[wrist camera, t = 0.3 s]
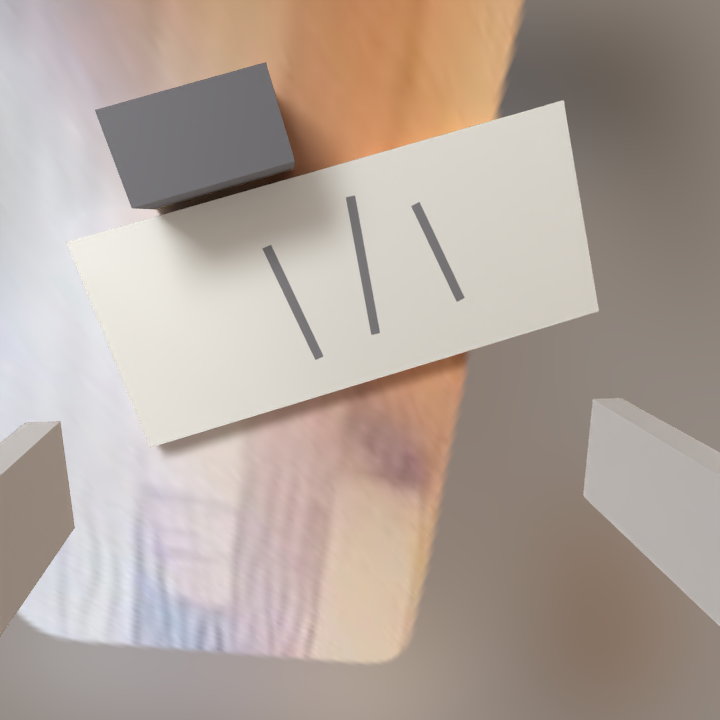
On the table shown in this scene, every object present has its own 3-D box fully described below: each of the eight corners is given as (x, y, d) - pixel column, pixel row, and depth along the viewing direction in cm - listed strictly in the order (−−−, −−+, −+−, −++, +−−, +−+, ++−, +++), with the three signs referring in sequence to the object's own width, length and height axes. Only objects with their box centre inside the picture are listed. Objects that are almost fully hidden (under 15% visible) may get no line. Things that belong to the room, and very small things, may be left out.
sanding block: (126, 127, 35) (95, 110, 29) (269, 87, 36) (265, 62, 30) (156, 209, 37) (131, 208, 31) (294, 169, 37) (295, 161, 31)
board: (73, 241, 36) (65, 242, 35) (555, 103, 38) (563, 100, 37) (154, 441, 40) (150, 447, 39) (590, 308, 41) (598, 311, 40)
